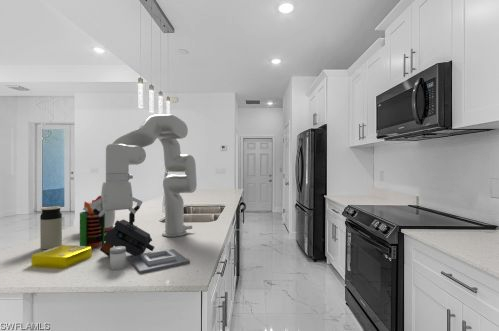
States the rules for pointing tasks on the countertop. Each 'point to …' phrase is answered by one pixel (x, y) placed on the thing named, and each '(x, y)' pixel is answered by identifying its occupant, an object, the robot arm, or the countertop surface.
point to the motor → (91, 228)
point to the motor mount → (157, 260)
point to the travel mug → (50, 227)
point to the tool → (127, 239)
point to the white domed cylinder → (117, 257)
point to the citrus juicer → (108, 215)
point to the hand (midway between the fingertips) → (117, 225)
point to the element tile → (61, 256)
